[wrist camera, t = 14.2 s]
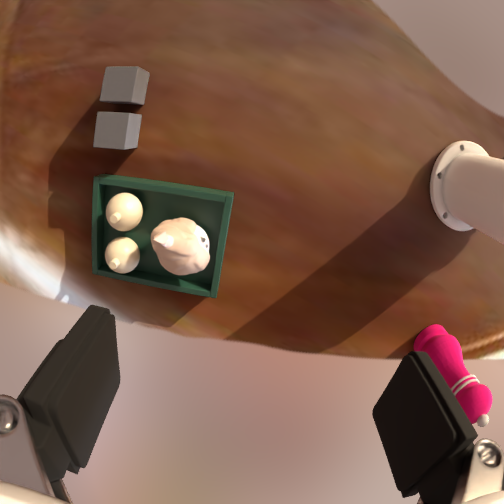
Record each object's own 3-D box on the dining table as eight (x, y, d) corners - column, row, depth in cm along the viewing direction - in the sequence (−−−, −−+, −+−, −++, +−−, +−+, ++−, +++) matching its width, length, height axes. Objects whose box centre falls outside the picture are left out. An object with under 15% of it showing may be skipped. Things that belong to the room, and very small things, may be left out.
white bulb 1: (149, 192, 34) (133, 201, 29) (146, 227, 36) (131, 242, 31) (116, 187, 34) (96, 196, 29) (114, 222, 36) (95, 235, 31)
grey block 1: (150, 72, 30) (138, 66, 26) (143, 104, 31) (131, 102, 27) (119, 72, 29) (105, 66, 26) (114, 103, 31) (99, 101, 27)
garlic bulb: (214, 213, 35) (204, 235, 28) (212, 264, 38) (203, 297, 30) (159, 210, 35) (136, 231, 28) (160, 260, 38) (141, 291, 30)
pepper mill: (406, 337, 43) (462, 430, 25) (442, 313, 42) (509, 396, 23) (415, 362, 45) (463, 449, 27) (448, 341, 44) (504, 420, 25)
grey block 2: (142, 114, 32) (129, 112, 28) (137, 147, 33) (124, 149, 29) (112, 113, 31) (97, 111, 27) (107, 145, 33) (92, 147, 29)
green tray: (234, 192, 35) (233, 196, 33) (218, 288, 40) (216, 298, 37) (103, 173, 34) (93, 176, 32) (100, 265, 38) (92, 273, 36)
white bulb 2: (145, 235, 36) (130, 250, 31) (143, 267, 38) (129, 286, 33) (113, 229, 36) (95, 244, 31) (113, 261, 38) (96, 278, 33)
